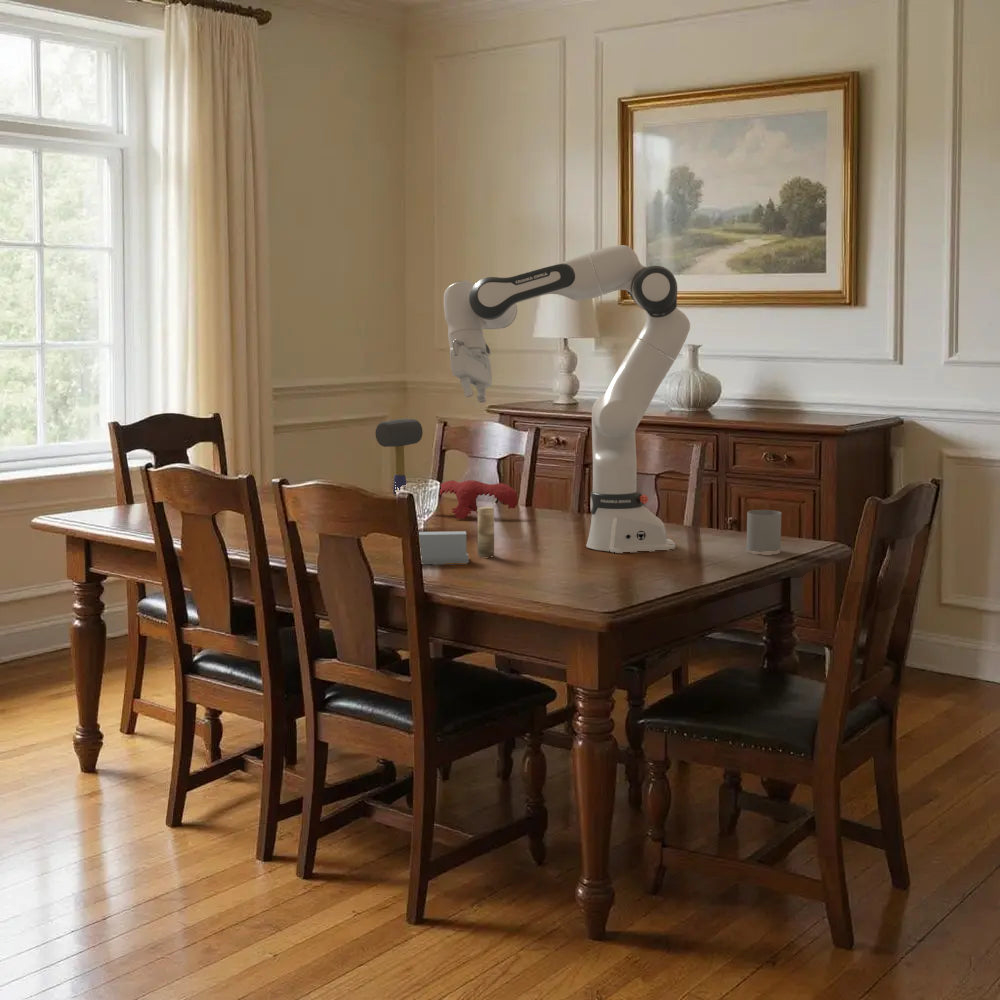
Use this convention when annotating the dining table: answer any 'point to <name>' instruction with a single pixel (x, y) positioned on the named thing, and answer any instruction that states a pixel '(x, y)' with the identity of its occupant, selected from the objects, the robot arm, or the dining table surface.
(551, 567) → the dining table surface
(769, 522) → the cup
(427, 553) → the gray rectangular block
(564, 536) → the dining table surface
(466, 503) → the red irregular arched piece
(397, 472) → the rubber mallet
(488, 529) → the dowel
